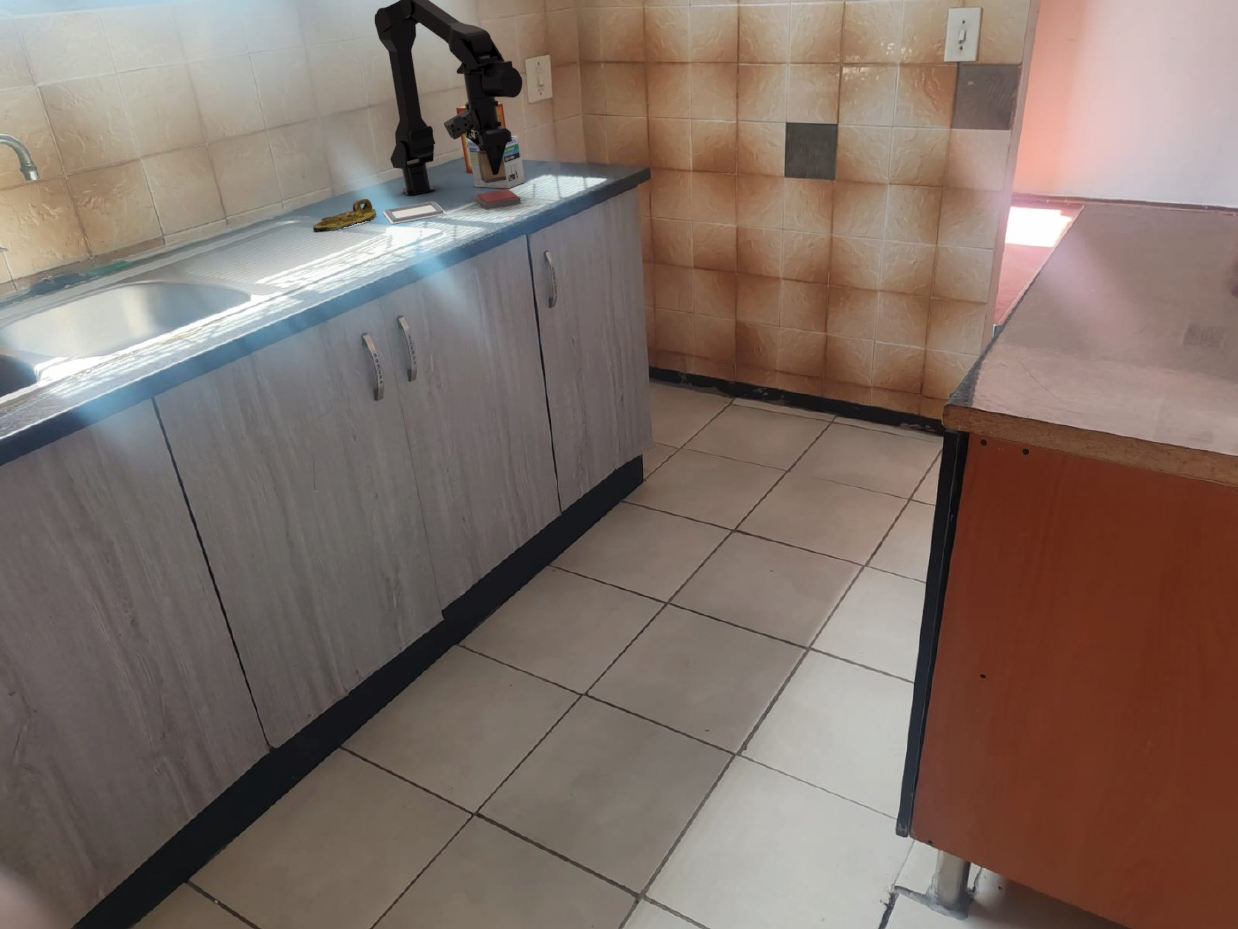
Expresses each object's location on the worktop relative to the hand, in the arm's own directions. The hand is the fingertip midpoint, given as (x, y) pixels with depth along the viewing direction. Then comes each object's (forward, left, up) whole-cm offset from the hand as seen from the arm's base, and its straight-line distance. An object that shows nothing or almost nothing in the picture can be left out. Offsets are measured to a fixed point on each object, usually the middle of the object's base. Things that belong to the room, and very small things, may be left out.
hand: (492, 172), depth 201 cm
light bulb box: (-17, +5, -7) cm, 19 cm away
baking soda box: (-35, +7, -7) cm, 36 cm away
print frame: (-3, -18, -6) cm, 19 cm away
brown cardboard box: (0, 0, -2) cm, 2 cm away
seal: (-6, -32, -7) cm, 34 cm away
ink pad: (0, 0, -6) cm, 6 cm away
